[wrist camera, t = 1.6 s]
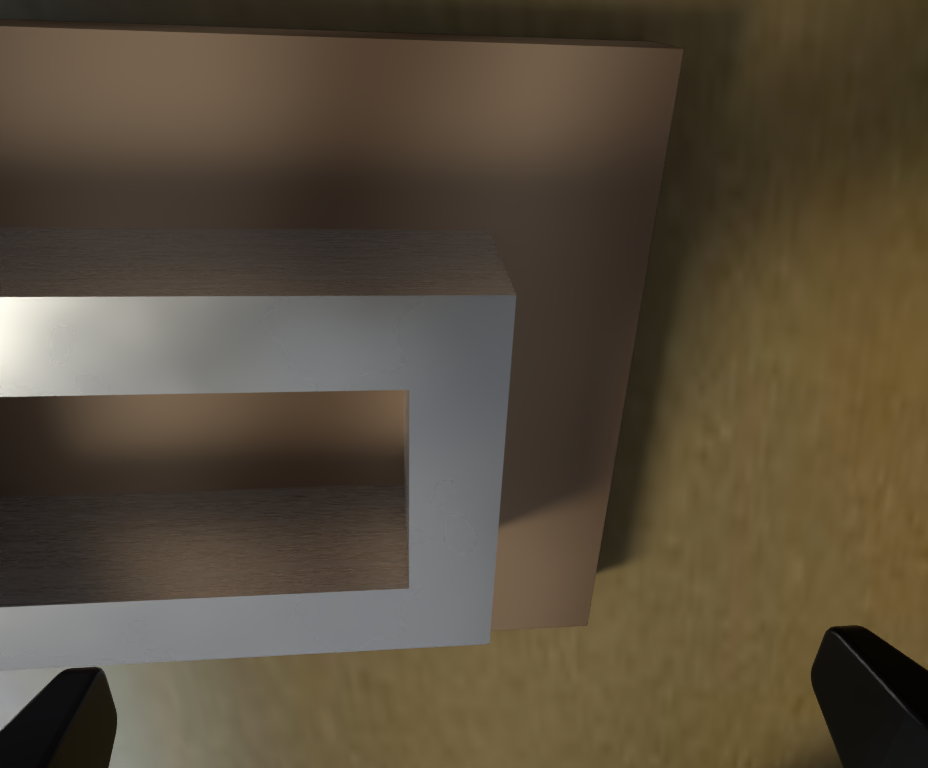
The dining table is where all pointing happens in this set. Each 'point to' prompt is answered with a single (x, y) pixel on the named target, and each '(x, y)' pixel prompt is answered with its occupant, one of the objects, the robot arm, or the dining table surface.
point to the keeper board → (355, 207)
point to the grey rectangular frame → (259, 510)
